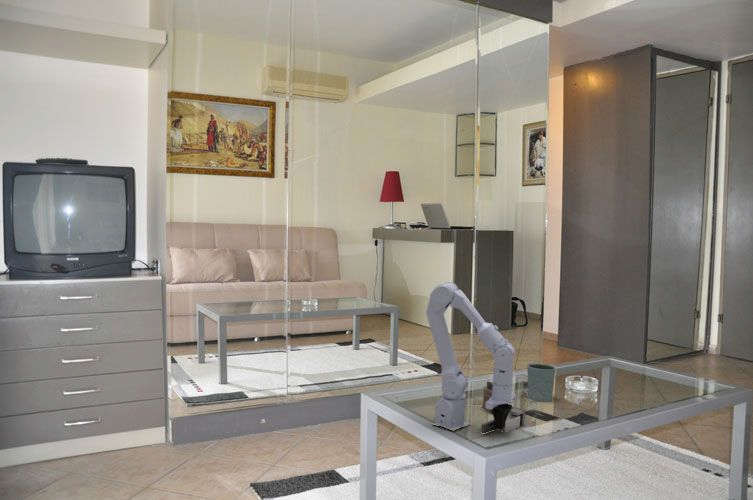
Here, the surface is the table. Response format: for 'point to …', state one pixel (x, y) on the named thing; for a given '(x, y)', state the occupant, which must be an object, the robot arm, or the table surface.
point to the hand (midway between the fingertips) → (499, 428)
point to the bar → (511, 423)
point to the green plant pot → (540, 382)
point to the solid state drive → (540, 415)
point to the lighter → (487, 395)
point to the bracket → (515, 411)
